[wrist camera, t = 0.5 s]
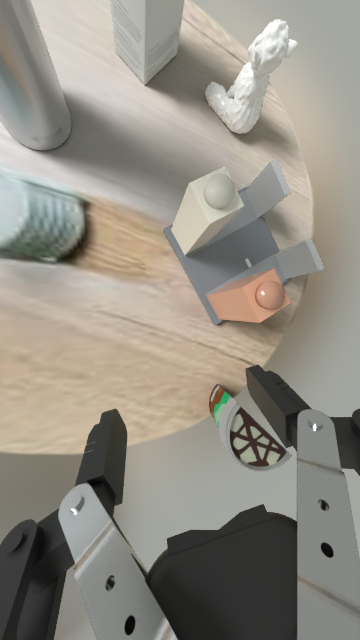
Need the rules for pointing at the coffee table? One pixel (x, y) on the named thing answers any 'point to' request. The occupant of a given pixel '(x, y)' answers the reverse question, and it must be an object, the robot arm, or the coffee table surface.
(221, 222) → the cream plug
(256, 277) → the terracotta plug
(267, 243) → the grey holder stand
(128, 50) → the skincare box
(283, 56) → the sitting furry creature
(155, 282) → the coffee table surface
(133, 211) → the coffee table surface
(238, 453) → the food container
